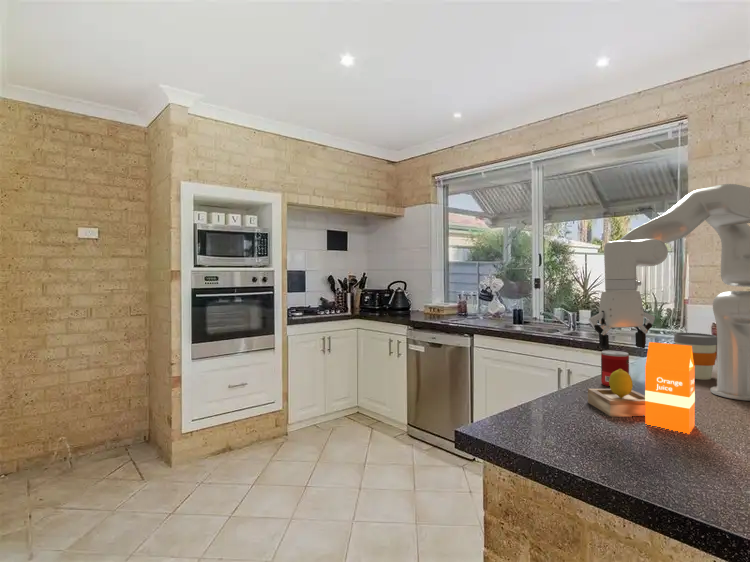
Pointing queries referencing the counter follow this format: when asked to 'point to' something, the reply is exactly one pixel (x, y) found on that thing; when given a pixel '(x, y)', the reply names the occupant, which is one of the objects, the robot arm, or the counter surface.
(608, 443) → the counter surface
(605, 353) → the canned food
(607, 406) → the square wooden box
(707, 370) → the reusable coffee cup
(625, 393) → the lemon
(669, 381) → the orange juice
